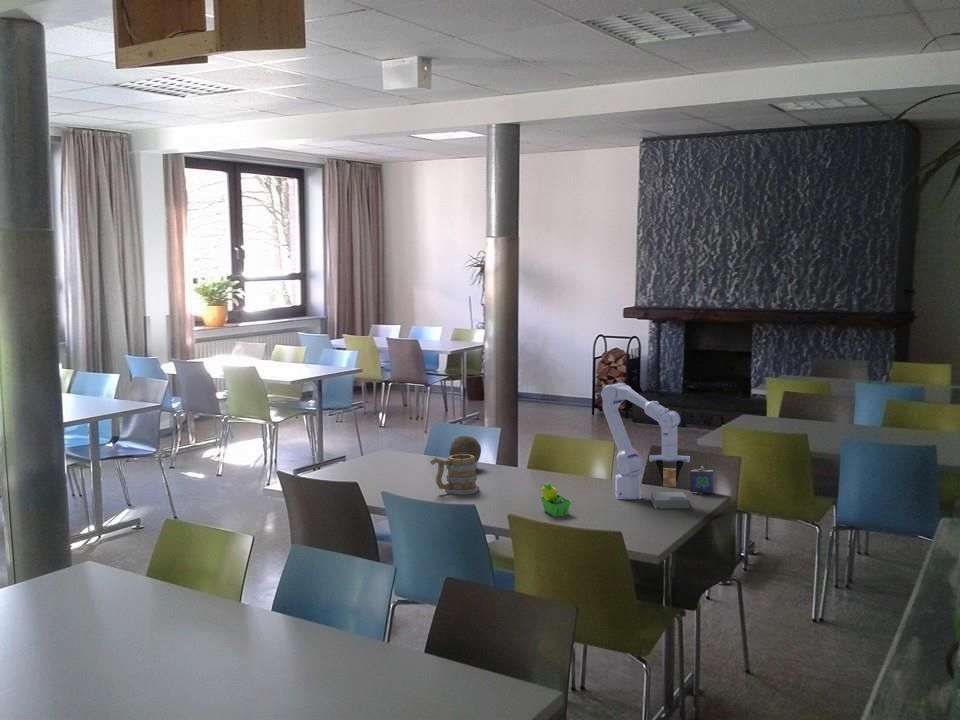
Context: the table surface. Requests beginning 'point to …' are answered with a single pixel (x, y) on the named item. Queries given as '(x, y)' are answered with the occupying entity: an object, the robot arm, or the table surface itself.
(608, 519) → the table surface
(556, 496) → the fruit basket
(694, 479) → the flask
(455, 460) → the tankard
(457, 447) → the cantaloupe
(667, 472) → the oak block
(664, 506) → the base block
